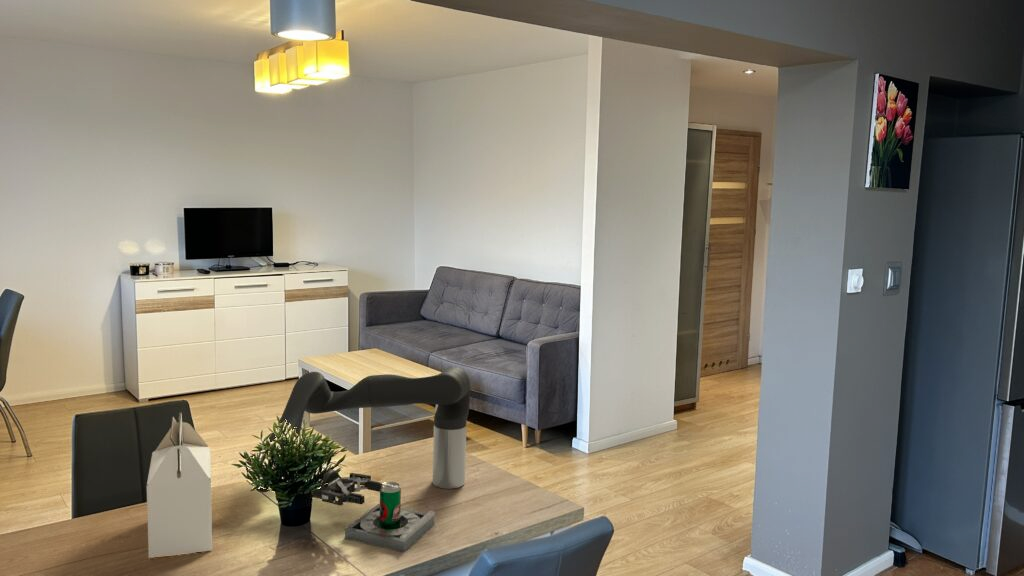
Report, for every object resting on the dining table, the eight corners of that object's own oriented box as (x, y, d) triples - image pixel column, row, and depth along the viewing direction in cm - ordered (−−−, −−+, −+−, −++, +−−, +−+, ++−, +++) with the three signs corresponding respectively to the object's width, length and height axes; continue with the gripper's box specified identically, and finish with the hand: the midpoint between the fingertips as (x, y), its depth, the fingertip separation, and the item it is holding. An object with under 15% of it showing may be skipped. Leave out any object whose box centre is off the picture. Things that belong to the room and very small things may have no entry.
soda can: (396, 537, 190) (396, 490, 188) (376, 534, 191) (376, 487, 189) (403, 528, 195) (403, 482, 193) (383, 526, 196) (384, 480, 194)
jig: (378, 513, 203) (378, 500, 203) (434, 524, 198) (434, 511, 197) (344, 538, 188) (344, 525, 188) (404, 552, 183) (404, 537, 182)
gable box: (154, 518, 195) (151, 409, 191) (211, 512, 200) (209, 406, 196) (148, 560, 175) (145, 439, 171) (212, 552, 179) (210, 434, 175)
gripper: (299, 478, 192) (357, 489, 186) (332, 459, 205) (387, 469, 199) (299, 507, 193) (357, 519, 187) (332, 486, 206) (386, 497, 200)
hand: (372, 493), depth 193 cm, fingers open, 8 cm apart
